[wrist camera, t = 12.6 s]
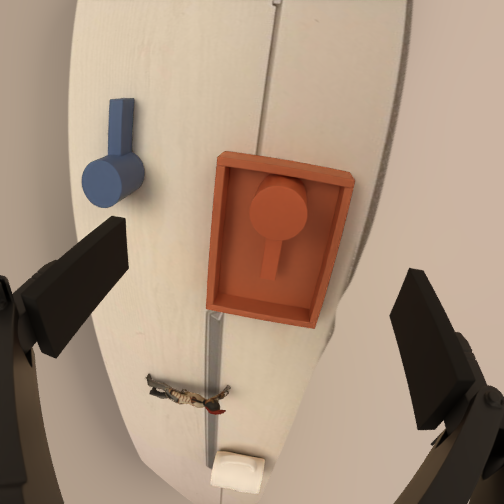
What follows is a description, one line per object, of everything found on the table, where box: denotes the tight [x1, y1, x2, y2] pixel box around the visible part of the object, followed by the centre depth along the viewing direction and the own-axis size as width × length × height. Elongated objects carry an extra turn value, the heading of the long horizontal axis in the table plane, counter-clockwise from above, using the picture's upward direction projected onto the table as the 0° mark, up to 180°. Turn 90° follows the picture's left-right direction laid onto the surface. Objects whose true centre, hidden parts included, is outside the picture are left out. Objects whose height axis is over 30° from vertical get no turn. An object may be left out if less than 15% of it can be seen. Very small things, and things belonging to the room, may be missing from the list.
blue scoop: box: [82, 98, 145, 208], centre depth 29 cm, size 10×5×5 cm, turn 173°
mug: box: [211, 451, 265, 494], centre depth 52 cm, size 12×9×8 cm
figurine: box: [146, 374, 230, 415], centre depth 45 cm, size 6×4×15 cm
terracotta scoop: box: [249, 174, 308, 281], centre depth 30 cm, size 10×5×5 cm, turn 173°
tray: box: [206, 151, 355, 329], centre depth 32 cm, size 17×12×3 cm
